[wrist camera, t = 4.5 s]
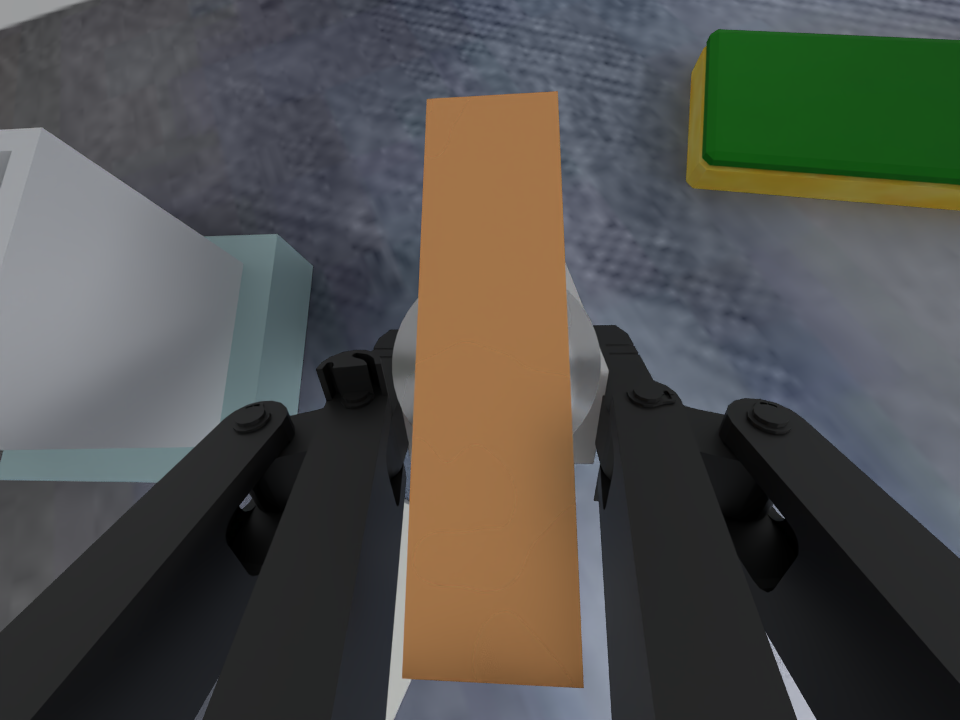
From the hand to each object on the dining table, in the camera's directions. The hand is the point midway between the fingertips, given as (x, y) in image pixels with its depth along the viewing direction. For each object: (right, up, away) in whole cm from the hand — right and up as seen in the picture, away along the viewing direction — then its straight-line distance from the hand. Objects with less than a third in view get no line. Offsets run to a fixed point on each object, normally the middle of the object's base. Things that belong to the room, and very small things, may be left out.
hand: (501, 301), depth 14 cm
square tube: (-14, -2, +4) cm, 15 cm away
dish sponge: (+16, +9, +5) cm, 19 cm away
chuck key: (0, -5, +3) cm, 5 cm away
